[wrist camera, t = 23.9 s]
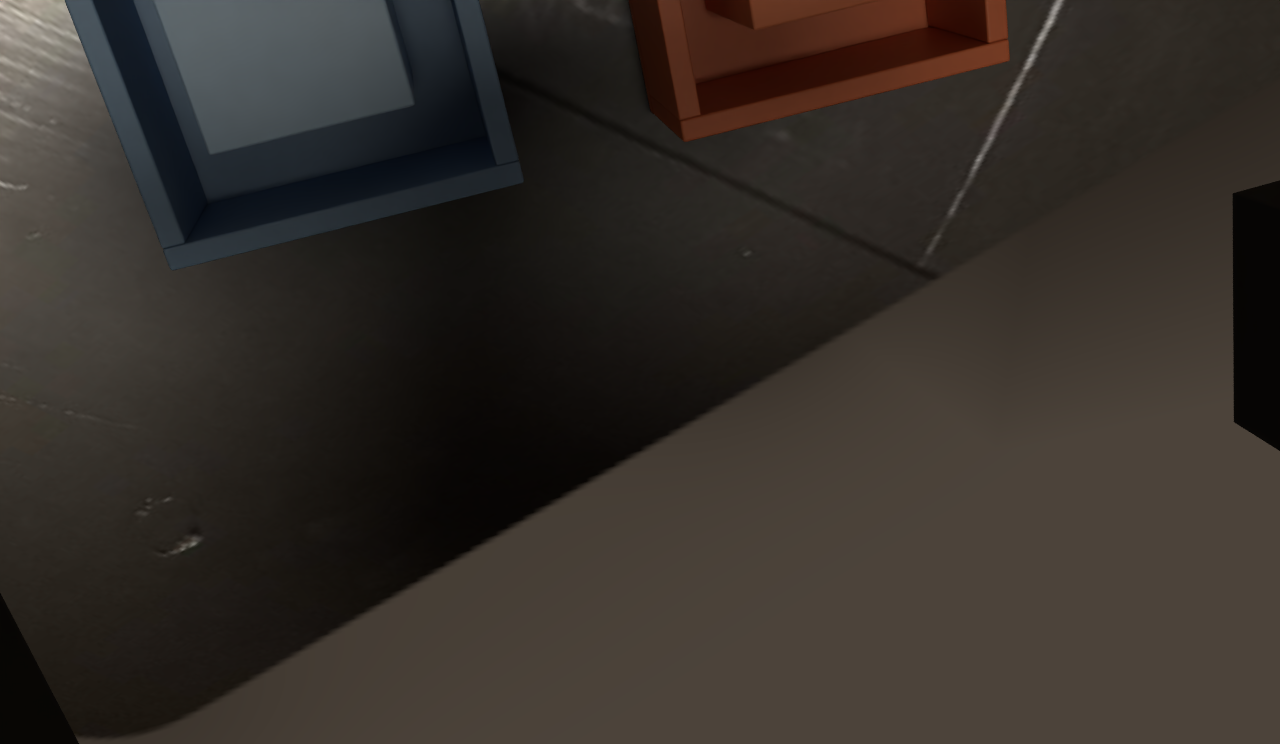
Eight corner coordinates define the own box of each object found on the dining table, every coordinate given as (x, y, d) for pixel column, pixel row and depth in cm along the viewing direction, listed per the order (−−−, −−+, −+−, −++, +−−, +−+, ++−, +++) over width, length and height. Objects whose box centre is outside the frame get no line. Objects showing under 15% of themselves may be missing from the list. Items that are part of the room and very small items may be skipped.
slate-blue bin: (509, 146, 35) (525, 182, 31) (197, 224, 34) (170, 271, 30) (412, -236, 30) (415, -253, 26) (53, -159, 30) (-1, -164, 26)
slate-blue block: (412, 74, 33) (415, 105, 28) (234, 117, 32) (209, 156, 28) (359, -116, 31) (352, -115, 26) (167, -73, 30) (128, -64, 26)
